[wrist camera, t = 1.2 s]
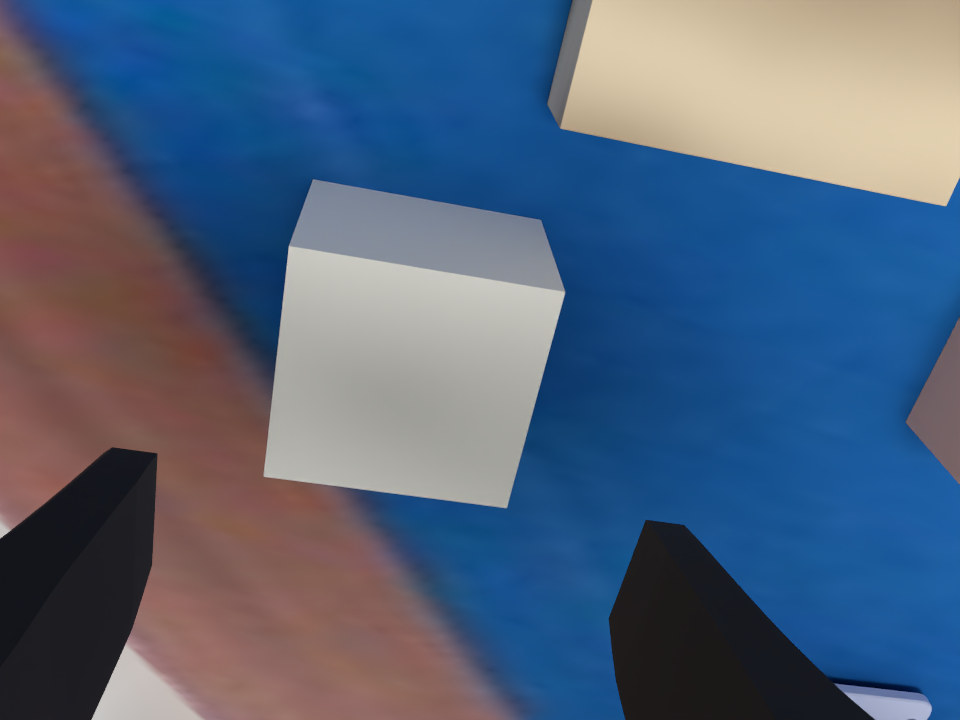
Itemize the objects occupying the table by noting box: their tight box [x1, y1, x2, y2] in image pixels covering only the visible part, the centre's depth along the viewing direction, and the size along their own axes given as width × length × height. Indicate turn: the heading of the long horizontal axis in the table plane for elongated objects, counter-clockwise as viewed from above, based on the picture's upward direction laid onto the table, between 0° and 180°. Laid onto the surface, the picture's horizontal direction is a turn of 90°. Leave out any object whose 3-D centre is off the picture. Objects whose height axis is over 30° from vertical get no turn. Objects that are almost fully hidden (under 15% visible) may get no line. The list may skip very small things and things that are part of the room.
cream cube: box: [264, 179, 565, 508], centre depth 19 cm, size 5×5×4 cm
